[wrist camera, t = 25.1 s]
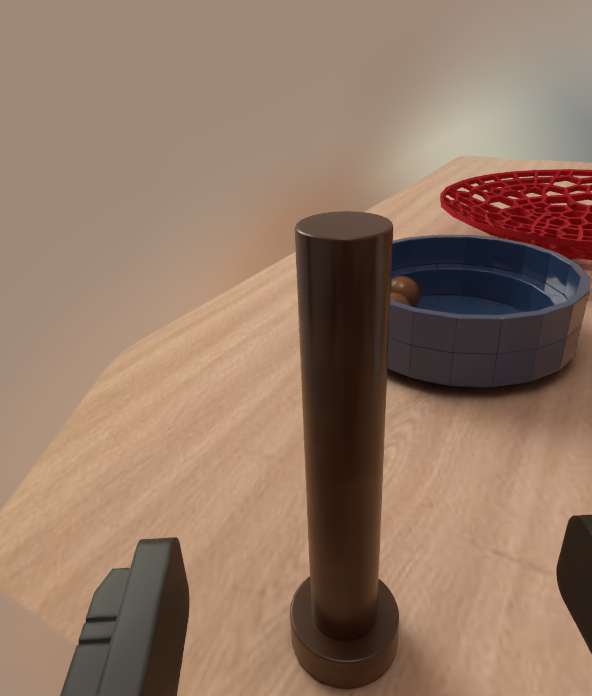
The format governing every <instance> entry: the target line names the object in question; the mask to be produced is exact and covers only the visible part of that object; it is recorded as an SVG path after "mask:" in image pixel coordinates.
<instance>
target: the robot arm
mask: <svg viewBox="0 0 592 696" xmlns="http://www.w3.org/2000/svg"><path fill="white" fill-rule="evenodd" d="M556 572H557V582H558V587H559V590H560V593H561V596H562V598H563V600H564V602H565V604H566V606H567V608H568V610H569V612H570V613H571V615H572V617H573V619H574V621H575V623H576V625H577V627H578V629H579V631H580V633H581V634H582V636H583V638H584V640H585V642H586V644H587V646H588V648H589V650H590V652H591V653H592V515H579V516H572V517H571V518H570V519H569V522H568V525H567V529H566V533H565V536H564V540H563V544H562V548H561V552H560V556H559V560H558V564H557V571H556ZM188 617H189V588H188V582H187V577H186V572H185V567H184V563H183V558H182V553H181V548H180V543H179V540H178V538H177V537H175V538H158V539H141V540H140V541H139V542H138V544H137V547H136V551H135V554H134V558H133V561H132V565H131V568H119V569H112V570H111V571H110V573H109V574H108V575H107V577H106V578H105V579H104V581H103V582H102V583H101V584H100V586H99V587H98V588H97V590H96V591H95V592H94V595H93V598H92V601H91V604H90V607H89V610H88V613H87V616H86V623H84V625H83V628H82V631H81V634H80V637H79V644H78V646H76V649H75V653H74V656H73V659H72V662H71V665H70V668H69V671H68V674H67V677H66V680H65V683H64V686H63V689H62V692H61V695H60V696H177V690H178V684H179V677H180V670H181V664H182V657H183V651H184V644H185V637H186V631H187V624H188Z"/></svg>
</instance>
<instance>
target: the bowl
mask: <svg viewBox="0 0 592 696" xmlns="http://www.w3.org/2000/svg"><path fill="white" fill-rule="evenodd" d="M560 175H565V176H560ZM573 175H577V176H592V170H574V169H563V170H530V171H514V172H505V173H496V174H489V175H484V176H478V177H474V178H470V179H466V180H462V181H460V182H457V183H455V184H453V185H450V186H448V187H446V188H445V189H444V191H443V192H442V193H441V196H440V201H441V207H442V208H443V209H444V210H445V211H447V212H448V213H449V214H450V215H451V216H453V217H454V218H456V219H459V220H461V221H463V222H465V223H467V224H469V225H471V226H473V227H475V228H477V229H479V230H481V231H484V232H486V233H488V234H490V235H493V236H495V237H498V238H502V239H507V240H512V241H517V242H523V243H528V244H532V245H535V246H538V247H541V248H544V249H548V250H551V251H554V252H557V253H559V254H561V255H563V256H564V257H569V258H577V259H589V260H592V205H589V206H588V205H585V204H581V203H577V202H575V201H582V200H592V193H591V192H590V191H592V185H590V186H589V185H581V184H587V183H592V177H588V178H581V179H579V178H577V177H574V176H573ZM529 176H534V177H533V178H518V177H529ZM538 176H553V177H538ZM505 178H513V179H510V180H501V179H505ZM490 180H494V181H495V182H490V183H485V181H490ZM561 181H569V182H572V183H575V184H577V185H573V186H570V187H566V188H564V187H560V186H556V185H553V184H554V183H555V182H561ZM475 183H477V184H478V185H479V186H476V187H473V186H471V184H475ZM541 183H549V184H541ZM461 187H463V188H465V189H467V190H469V191H470V192H465V191H457V189H459V188H461ZM497 187H502V188H497ZM483 190H487V191H488V192H484V191H483ZM519 190H521V191H520V192H519ZM549 191H552V192H556V193H560V194H563V195H551V196H547V194H546V193H547V192H549ZM574 191H584V192H586V193H578V194H569V193H570V192H574ZM528 193H535V194H539V195H542V196H538V197H527V196H526V194H528ZM474 194H477V195H480V196H482V197H483V198H484V199H485V201H484V202H483V201H480V200H478V199H476V198H473V197H472V196H473V195H474ZM446 195H449V196H450V197H452V198H454V199H455V200H450V199H448V198H447V197H446ZM508 196H512V197H516V198H520V199H511V198H508ZM467 198H468V199H467ZM459 201H460V202H459ZM461 202H462V203H464V204H466V205H464V204H462V203H461ZM494 202H501V203H503V204H506V205H508V206H511V207H509V208H504V209H500V208H498V207H495V206H493V205H490V203H494ZM554 203H567V205H551V204H554ZM467 205H468V206H467ZM485 210H486V211H488V212H486V211H485Z"/></svg>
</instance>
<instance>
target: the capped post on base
mask: <svg viewBox="0 0 592 696" xmlns="http://www.w3.org/2000/svg"><path fill="white" fill-rule="evenodd" d="M295 242H296V266H297V289H298V312H299V334H300V357H301V380H302V403H303V425H304V448H305V471H306V493H307V516H308V539H309V562H310V577H308V578H307V579H306V580H305V581H304V582H303V583H302V584H301V585H300V587H299V588H298V589H297V591H296V593H295V595H294V597H293V600H292V603H291V609H290V619H291V632H292V643H293V648H294V651H295V654H296V656H297V658H298V660H299V662H300V663H301V665H302V666H303V667H304V668H305V669H306V670H307V672H309V673H310V674H311V675H312V676H313V677H315V678H316V679H318V680H319V681H322V682H324V683H326V684H329V685H332V686H336V687H344V688H350V687H358V686H362V685H365V684H368V683H370V682H372V681H374V680H376V679H377V678H378V677H380V676H381V675H382V674H383V673H384V672H385V671H386V670H387V669H388V667H389V666H390V664H391V663H392V661H393V659H394V656H395V653H396V649H397V639H398V625H399V612H398V607H397V603H396V601H395V598H394V597H393V595H392V593H391V591H390V590H389V589H388V587H387V586H386V585H385V584H384V583H383V582H382V581H381V580H380V579H378V576H379V552H380V528H381V505H382V481H383V457H384V434H385V410H386V386H387V363H388V339H389V315H390V292H391V268H392V244H393V224H392V222H391V221H390V220H389V219H387V218H385V217H383V216H379V215H376V214H371V213H364V212H329V213H323V214H317V215H313V216H310V217H307V218H305V219H302V220H300V221H299V222H298V223H297V224H296V226H295Z"/></svg>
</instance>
